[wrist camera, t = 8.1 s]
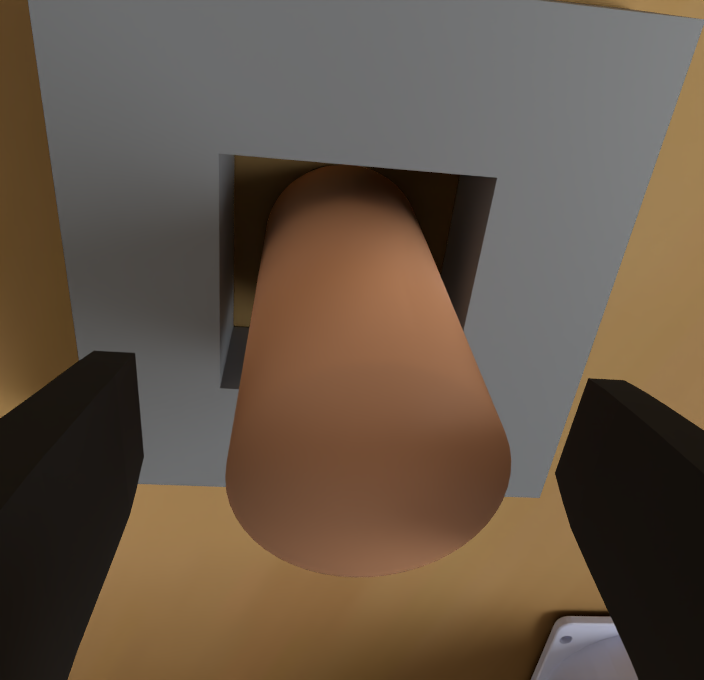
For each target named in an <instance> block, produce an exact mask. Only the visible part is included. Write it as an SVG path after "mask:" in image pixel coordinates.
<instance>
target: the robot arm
mask: <svg viewBox="0 0 704 680" xmlns="http://www.w3.org/2000/svg"><path fill="white" fill-rule="evenodd" d="M143 459H144V450H143V438H142V427H141V415H140V403H139V392H138V380H137V369H136V357H135V353H128V352H111V351H93V352H91V353H90V354H88V355H87V356H85V357H84V358H82V359H81V360H79V361H78V362H77V363H75V364H74V365H73V366H71V367H70V368H69V369H67V370H66V371H65V372H63V373H62V374H61V375H59V376H58V377H57V378H55V379H54V380H53V381H51V382H50V383H48V384H47V385H46V386H44V387H43V388H42V389H40V390H39V391H38V392H36V393H35V394H34V395H32V396H31V397H29V398H28V399H27V400H25V401H24V402H22V403H21V404H20V405H18V406H17V407H16V408H14V409H13V410H11V411H10V412H9V413H7V414H6V415H4V416H3V417H2V418H0V680H67V679H68V676H69V673H70V670H71V668H72V665H73V662H74V659H75V656H76V653H77V650H78V648H79V645H80V642H81V640H82V637H83V635H84V632H85V630H86V627H87V625H88V622H89V619H90V617H91V614H92V612H93V609H94V607H95V604H96V601H97V599H98V596H99V594H100V591H101V589H102V586H103V583H104V581H105V578H106V576H107V573H108V571H109V568H110V565H111V563H112V560H113V558H114V555H115V552H116V550H117V547H118V545H119V542H120V539H121V537H122V534H123V532H124V529H125V526H126V524H127V521H128V518H129V515H130V512H131V508H132V504H133V500H134V497H135V493H136V489H137V484H138V480H139V476H140V472H141V467H142V463H143ZM555 475H556V479H557V482H558V486H559V490H560V493H561V497H562V501H563V504H564V507H565V511H566V514H567V517H568V520H569V523H570V527H571V529H572V532H573V534H574V536H575V539H576V541H577V543H578V546H579V548H580V550H581V552H582V555H583V557H584V559H585V561H586V564H587V566H588V568H589V570H590V573H591V575H592V577H593V579H594V581H595V583H596V586H597V588H598V590H599V592H600V594H601V597H602V599H603V601H604V603H605V605H606V608H607V610H608V612H609V614H610V616H611V617H609V616H564V617H561V618H559V619H558V620H557V621H556V622H555V624H554V626H553V628H552V631H551V633H550V635H549V638H548V640H547V643H546V645H545V647H544V650H543V652H542V654H541V657H540V659H539V661H538V664H537V666H536V669H535V671H534V673H533V676H532V678H531V680H704V430H702V429H701V428H699V427H698V426H696V425H695V424H693V423H692V422H690V421H689V420H687V419H686V418H684V417H683V416H681V415H680V414H678V413H677V412H675V411H674V410H672V409H671V408H669V407H668V406H666V405H665V404H663V403H662V402H660V401H658V400H657V399H655V398H654V397H652V396H651V395H649V394H647V393H646V392H644V391H642V390H641V389H639V388H637V387H635V386H634V385H632V384H630V383H628V382H626V381H624V380H608V379H590V378H588V381H587V384H586V386H585V389H584V392H583V395H582V398H581V401H580V403H579V406H578V409H577V412H576V415H575V418H574V421H573V423H572V426H571V429H570V432H569V435H568V438H567V440H566V443H565V446H564V449H563V452H562V455H561V457H560V460H559V463H558V466H557V469H556V472H555Z"/></svg>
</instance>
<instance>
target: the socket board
mask: <svg viewBox="0 0 704 680" xmlns="http://www.w3.org/2000/svg"><path fill="white" fill-rule="evenodd" d="M28 5H29V12H30V19H31V26H32V33H33V40H34V47H35V54H36V61H37V68H38V75H39V82H40V89H41V97H42V104H43V111H44V118H45V125H46V132H47V139H48V146H49V153H50V160H51V167H52V174H53V181H54V188H55V195H56V202H57V209H58V216H59V223H60V230H61V237H62V244H63V251H64V258H65V265H66V272H67V279H68V286H69V293H70V301H71V308H72V315H73V322H74V329H75V336H76V343H77V350H78V357H79V360H81V359H82V358H84V357H85V356H87V355H88V354H90V353H91V352H93V351H111V352H128V353H135V357H136V369H137V380H138V392H139V403H140V415H141V427H142V438H143V450H144V459H143V463H142V467H141V472H140V476H139V480H138V484H159V485H187V486H216V487H226V481H225V474H226V463H227V457H228V451H229V445H230V439H231V433H232V427H233V421H234V416H235V410H236V404H237V398H238V392H239V386H240V380H241V374H242V369H243V363H244V357H245V351H246V345H247V339H248V333H249V327H233V312H234V155H242V156H253V157H265V158H276V159H288V160H299V161H311V162H322V163H334V164H345V165H357V166H368V167H380V168H391V169H403V170H414V171H426V172H437V173H449V174H460V177H459V183H458V188H457V193H456V198H455V204H454V209H453V214H452V219H451V225H450V230H449V235H448V240H447V246H446V251H445V256H444V261H443V267H442V272H441V279H442V281H443V283H444V286H445V288H446V291H447V293H448V295H449V298H450V300H451V303H452V305H453V307H454V310H455V312H456V315H457V317H458V320H459V322H460V324H461V327H462V329H463V332H464V334H465V336H466V339H467V341H468V344H469V346H470V348H471V351H472V353H473V356H474V358H475V361H476V363H477V365H478V368H479V370H480V373H481V375H482V377H483V380H484V382H485V385H486V387H487V389H488V392H489V394H490V397H491V399H492V402H493V404H494V406H495V409H496V411H497V414H498V416H499V418H500V421H501V423H502V426H503V428H504V430H505V433H506V436H507V439H508V443H509V446H510V453H511V475H510V479H509V484H508V488H507V490H506V493H505V496H504V497H531V498H540V495H541V492H542V489H543V486H544V483H545V480H546V478H547V475H548V472H549V469H550V466H551V463H552V460H553V457H554V455H555V452H556V449H557V446H558V443H559V440H560V437H561V434H562V431H563V429H564V426H565V423H566V420H567V417H568V414H569V411H570V408H571V406H572V403H573V400H574V397H575V394H576V391H577V388H578V385H579V382H580V380H581V377H582V374H583V371H584V368H585V365H586V362H587V359H588V357H589V354H590V351H591V348H592V345H593V342H594V339H595V336H596V333H597V331H598V328H599V325H600V322H601V319H602V316H603V313H604V310H605V308H606V305H607V302H608V299H609V296H610V293H611V290H612V287H613V284H614V282H615V279H616V276H617V273H618V270H619V267H620V264H621V261H622V259H623V256H624V253H625V250H626V247H627V244H628V241H629V238H630V235H631V233H632V230H633V227H634V224H635V221H636V218H637V215H638V212H639V209H640V207H641V204H642V201H643V198H644V195H645V192H646V189H647V186H648V184H649V181H650V178H651V175H652V172H653V169H654V166H655V163H656V160H657V158H658V155H659V152H660V149H661V146H662V143H663V140H664V137H665V135H666V132H667V129H668V126H669V123H670V120H671V117H672V114H673V111H674V109H675V106H676V103H677V100H678V97H679V94H680V91H681V88H682V86H683V83H684V80H685V77H686V74H687V71H688V68H689V65H690V62H691V60H692V57H693V54H694V51H695V48H696V45H697V42H698V39H699V37H700V34H701V31H702V28H703V25H704V20H703V19H696V18H689V17H682V16H675V15H667V14H660V13H653V12H646V11H639V10H631V9H623V8H614V7H606V6H597V5H589V4H580V3H572V2H563V1H554V0H28Z"/></svg>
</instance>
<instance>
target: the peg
mask: <svg viewBox="0 0 704 680" xmlns="http://www.w3.org/2000/svg"><path fill="white" fill-rule="evenodd" d="M510 475H511V453H510V446H509V443H508V439H507V436H506V433H505V430H504V428H503V426H502V423H501V421H500V418H499V416H498V414H497V411H496V409H495V406H494V404H493V402H492V399H491V397H490V394H489V392H488V389H487V387H486V385H485V382H484V380H483V377H482V375H481V373H480V370H479V368H478V365H477V363H476V361H475V358H474V356H473V353H472V351H471V348H470V346H469V344H468V341H467V339H466V336H465V334H464V332H463V329H462V327H461V324H460V322H459V320H458V317H457V315H456V312H455V310H454V307H453V305H452V303H451V300H450V298H449V295H448V293H447V291H446V288H445V286H444V283H443V281H442V279H441V276H440V274H439V271H438V269H437V266H436V264H435V262H434V259H433V257H432V254H431V252H430V250H429V247H428V245H427V242H426V240H425V238H424V235H423V233H422V230H421V228H420V226H419V223H418V221H417V218H416V216H415V213H414V211H413V209H412V207H411V205H410V203H409V201H408V199H407V198H406V196H405V195H404V193H403V192H402V191H401V190H400V189H399V188H398V187H397V186H396V185H395V184H394V183H393V182H392V181H390V180H389V179H388V178H386V177H385V176H383V175H381V174H380V173H378V172H375V171H373V170H371V169H368V168H364V167H361V166H355V165H330V166H325V167H321V168H318V169H315V170H313V171H310V172H308V173H306V174H304V175H302V176H301V177H299V178H298V179H296V180H295V181H294V182H292V183H291V184H290V185H289V186H288V187H287V188H286V189H285V190H284V191H283V192H282V194H281V195H280V196H279V197H278V199H277V201H276V202H275V204H274V206H273V208H272V210H271V213H270V215H269V219H268V223H267V227H266V233H265V239H264V245H263V251H262V257H261V263H260V269H259V274H258V280H257V286H256V292H255V298H254V304H253V310H252V316H251V321H250V327H249V333H248V339H247V345H246V351H245V357H244V363H243V369H242V374H241V380H240V386H239V392H238V398H237V404H236V410H235V416H234V421H233V427H232V433H231V439H230V445H229V451H228V457H227V463H226V474H225V481H226V492H227V495H228V499H229V503H230V506H231V508H232V510H233V512H234V514H235V516H236V518H237V520H238V521H239V523H240V524H241V526H242V527H243V529H244V530H245V531H246V532H247V533H248V534H249V535H250V536H251V537H252V539H253V540H254V541H256V542H257V543H258V544H259V545H261V546H262V547H263V548H264V549H265V550H267V551H269V552H270V553H272V554H273V555H275V556H276V557H278V558H280V559H282V560H284V561H286V562H288V563H290V564H292V565H295V566H298V567H301V568H303V569H306V570H310V571H314V572H318V573H322V574H328V575H334V576H344V577H375V576H384V575H391V574H396V573H401V572H405V571H409V570H412V569H416V568H419V567H422V566H424V565H427V564H430V563H432V562H435V561H437V560H439V559H441V558H443V557H445V556H447V555H449V554H451V553H452V552H454V551H455V550H457V549H458V548H460V547H462V546H463V545H464V544H466V543H467V542H468V541H469V540H471V539H472V538H473V537H474V536H476V535H477V534H478V533H479V532H480V531H481V530H482V529H483V528H484V527H485V526H486V524H487V523H488V522H489V521H490V519H491V518H492V517H493V515H494V514H495V513H496V511H497V509H498V508H499V506H500V504H501V502H502V501H503V498H504V496H505V493H506V490H507V488H508V484H509V479H510Z"/></svg>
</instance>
